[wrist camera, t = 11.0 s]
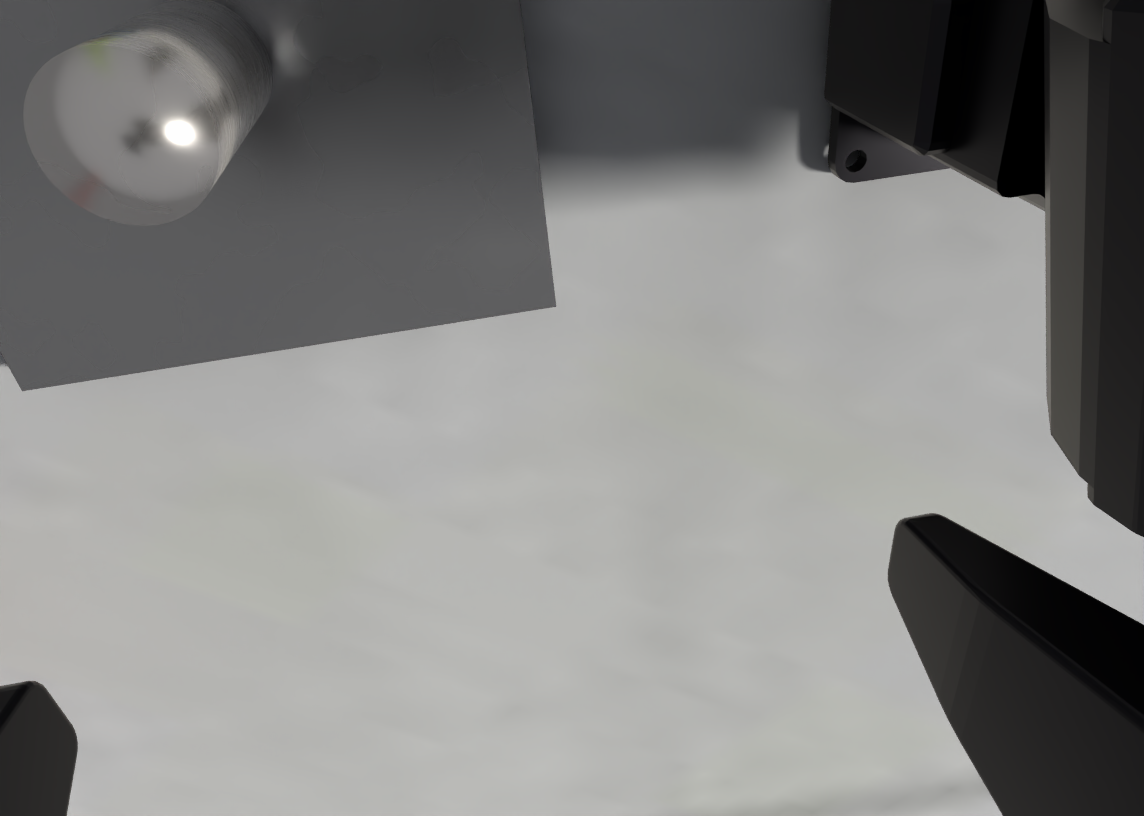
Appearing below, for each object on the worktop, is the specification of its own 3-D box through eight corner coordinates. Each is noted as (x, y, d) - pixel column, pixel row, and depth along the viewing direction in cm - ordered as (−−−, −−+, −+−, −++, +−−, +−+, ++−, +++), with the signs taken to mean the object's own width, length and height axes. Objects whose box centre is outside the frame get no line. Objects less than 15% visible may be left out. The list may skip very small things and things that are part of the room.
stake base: (468, -388, 13) (498, -549, 8) (550, 288, 20) (594, 426, 15) (-329, -316, 12) (-842, -447, 7) (39, 368, 19) (-96, 543, 14)
